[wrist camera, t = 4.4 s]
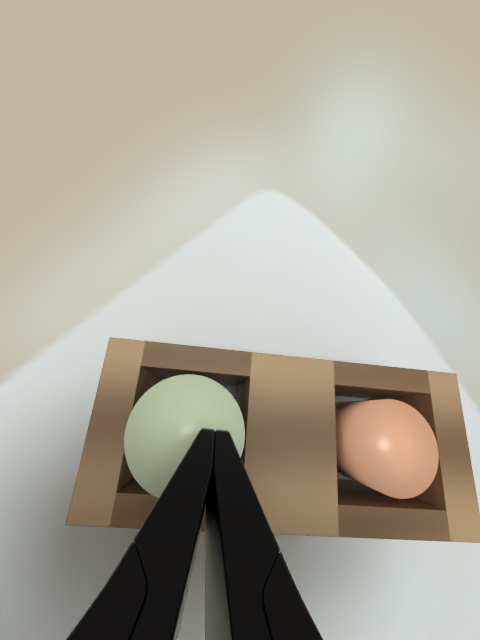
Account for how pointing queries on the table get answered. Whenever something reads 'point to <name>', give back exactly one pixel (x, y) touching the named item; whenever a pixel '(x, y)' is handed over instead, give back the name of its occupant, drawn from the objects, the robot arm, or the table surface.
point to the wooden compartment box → (284, 443)
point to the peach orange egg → (385, 446)
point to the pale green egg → (176, 426)
